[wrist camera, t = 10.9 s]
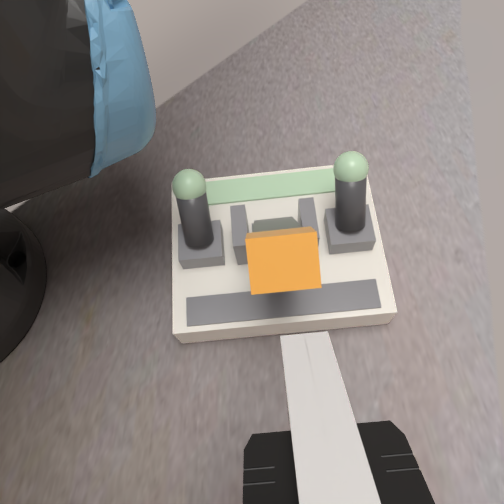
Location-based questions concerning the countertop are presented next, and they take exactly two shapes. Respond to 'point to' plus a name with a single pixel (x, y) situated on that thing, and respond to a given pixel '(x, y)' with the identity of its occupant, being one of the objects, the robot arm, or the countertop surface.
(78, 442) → the countertop surface
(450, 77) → the countertop surface
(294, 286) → the breaker lever
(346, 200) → the lever control panel
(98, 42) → the robot arm
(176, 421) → the countertop surface
